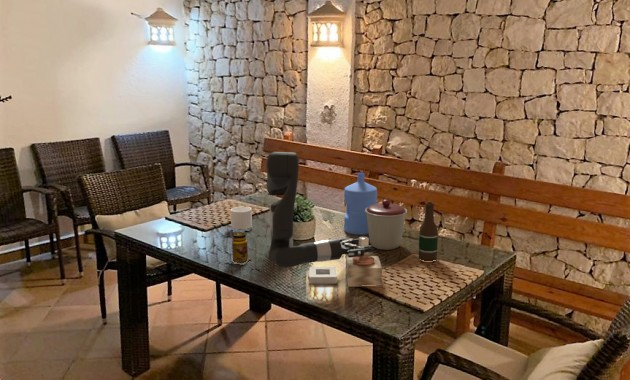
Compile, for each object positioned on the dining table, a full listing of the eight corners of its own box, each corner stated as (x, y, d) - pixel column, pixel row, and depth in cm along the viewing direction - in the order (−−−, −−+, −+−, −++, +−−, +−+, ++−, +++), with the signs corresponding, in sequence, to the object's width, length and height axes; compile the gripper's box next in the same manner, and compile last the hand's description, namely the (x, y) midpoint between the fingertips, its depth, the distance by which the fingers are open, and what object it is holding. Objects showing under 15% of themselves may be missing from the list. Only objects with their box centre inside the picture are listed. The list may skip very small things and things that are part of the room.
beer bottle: (433, 264, 212) (435, 206, 207) (414, 260, 216) (416, 203, 211) (439, 258, 219) (442, 201, 213) (421, 255, 223) (424, 199, 217)
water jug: (382, 228, 259) (383, 172, 252) (367, 237, 246) (368, 178, 239) (353, 223, 267) (354, 169, 260) (338, 232, 254) (338, 174, 247)
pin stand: (309, 283, 195) (309, 277, 194) (309, 273, 205) (309, 266, 204) (336, 283, 195) (336, 276, 194) (335, 272, 205) (335, 266, 204)
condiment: (244, 266, 213) (243, 237, 210) (225, 263, 215) (223, 235, 212) (251, 259, 219) (250, 231, 217) (233, 257, 222) (231, 230, 219)
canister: (371, 237, 245) (372, 193, 241) (410, 242, 239) (411, 196, 234) (359, 250, 229) (359, 202, 224) (400, 255, 222) (401, 206, 218)
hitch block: (348, 286, 192) (348, 268, 190) (346, 273, 204) (346, 256, 202) (381, 286, 192) (381, 267, 190) (377, 273, 204) (377, 256, 202)
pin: (353, 281, 194) (353, 242, 190) (351, 273, 202) (351, 234, 198) (375, 281, 194) (375, 241, 190) (372, 273, 202) (373, 234, 198)
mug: (243, 233, 253) (243, 213, 250) (227, 230, 258) (226, 210, 255) (259, 226, 263) (258, 206, 261) (243, 224, 268) (242, 204, 266)
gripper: (333, 246, 183) (376, 240, 188) (319, 234, 196) (359, 229, 201) (333, 267, 184) (376, 260, 190) (319, 253, 197) (359, 248, 203)
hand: (367, 244), depth 195 cm, fingers open, 8 cm apart
